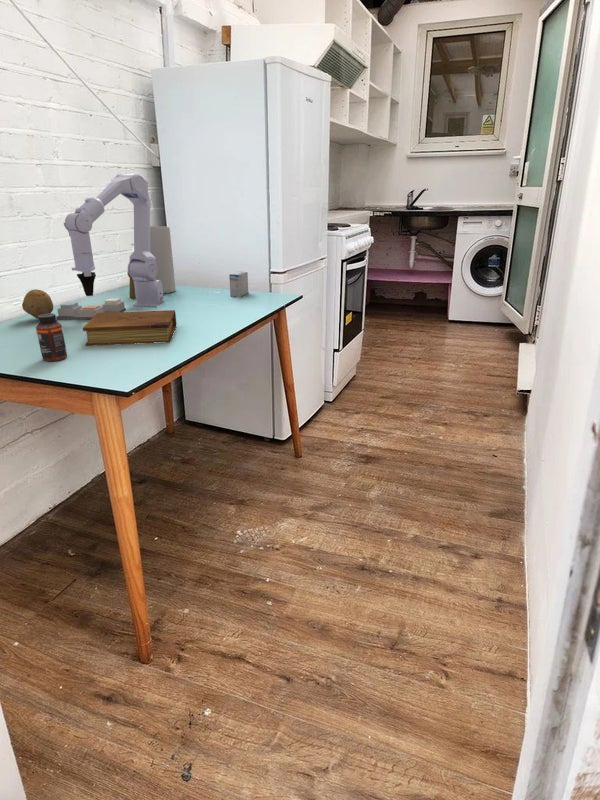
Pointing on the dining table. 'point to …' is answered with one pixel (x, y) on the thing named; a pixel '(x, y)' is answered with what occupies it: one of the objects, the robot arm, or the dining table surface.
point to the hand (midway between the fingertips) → (89, 295)
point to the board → (89, 311)
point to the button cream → (112, 301)
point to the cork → (132, 288)
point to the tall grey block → (163, 256)
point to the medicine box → (238, 284)
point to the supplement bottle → (51, 338)
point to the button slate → (69, 305)
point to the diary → (130, 327)
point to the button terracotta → (92, 307)
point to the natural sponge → (37, 303)
